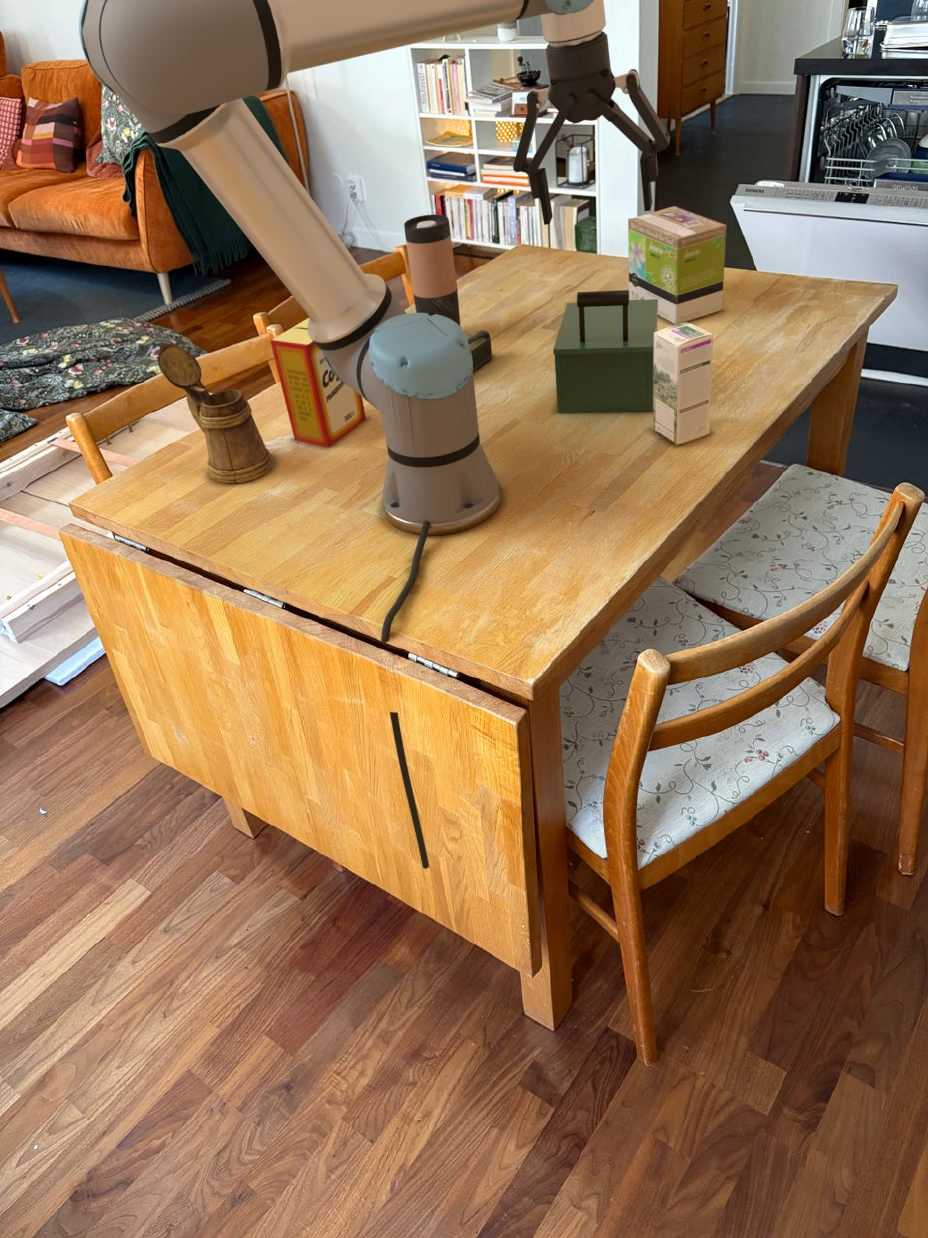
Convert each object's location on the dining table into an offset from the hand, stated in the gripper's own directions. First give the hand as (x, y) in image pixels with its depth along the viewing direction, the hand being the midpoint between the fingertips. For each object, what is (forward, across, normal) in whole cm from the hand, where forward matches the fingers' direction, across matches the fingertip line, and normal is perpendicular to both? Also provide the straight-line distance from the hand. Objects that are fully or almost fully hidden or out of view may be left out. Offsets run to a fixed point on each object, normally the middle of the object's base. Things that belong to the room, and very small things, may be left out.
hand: (597, 214), depth 129 cm
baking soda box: (+21, +42, +15) cm, 49 cm away
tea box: (+29, -6, -32) cm, 44 cm away
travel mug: (+25, +34, -19) cm, 46 cm away
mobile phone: (+24, +26, -4) cm, 36 cm away
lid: (+17, +1, 0) cm, 17 cm away
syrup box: (+26, -10, +14) cm, 32 cm away
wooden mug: (+19, +53, +27) cm, 62 cm away
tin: (+26, +2, 0) cm, 26 cm away
